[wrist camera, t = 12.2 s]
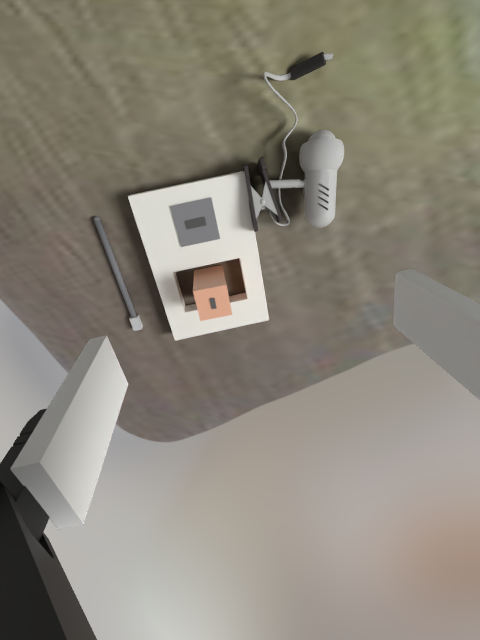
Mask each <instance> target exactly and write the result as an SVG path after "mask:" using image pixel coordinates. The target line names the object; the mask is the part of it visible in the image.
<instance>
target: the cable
mask: <svg viewBox="0 0 480 640" xmlns="http://www.w3.org/2000/svg"><path fill="white" fill-rule="evenodd" d="M93 220H94V223H95V225H96V228H97V230H98V233H99V236H100V238H101V241H102V243H103V246H104V248H105V251H106V254H107V256H108V259H109V261H110V264H111V267H112V269H113V272H114V274H115V277H116V279H117V282H118V285H119V287H120V290H121V292H122V295H123V297H124V300H125V303H126V305H127V308H128V310H129V313H130V315H131V316H130V319H129V320H130V322H131V325H132V327H133V330H134V331H136V330H141V329H142V328H143V325H142V322H141V320H140V317H139V315H136V312H135V310H134V307H133V304H132V302H131V299H130V296H129V294H128V291H127V288H126V286H125V283H124V281H123V278H122V275H121V273H120V270H119V267H118V265H117V262H116V259H115V257H114V254H113V251H112V249H111V246H110V244H109V241H108V238H107V236H106V233H105V230H104V228H103V225H102V222H101V220H100V218H99V217H97V216H96V217H94V219H93Z"/></svg>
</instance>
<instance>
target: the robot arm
mask: <svg viewBox="0 0 480 640" xmlns="http://www.w3.org/2000/svg"><path fill="white" fill-rule="evenodd" d="M393 326H394V327H395V328H397V329H398V330H399V331H400V332H401V333H402V334H404V335H405V336H406V337H407V338H408V339H409V340H411V341H412V342H413V343H414V344H415V345H416V346H418V347H419V348H420V349H421V350H422V351H423V352H424V353H426V354H427V355H428V356H429V357H430V358H431V359H433V360H434V361H435V362H436V363H437V364H438V365H440V366H441V367H442V368H443V369H444V370H446V371H447V372H448V373H449V374H450V375H451V376H452V377H454V378H455V379H456V380H457V381H458V382H459V383H461V384H462V385H463V386H464V387H465V388H466V389H468V390H469V391H470V392H471V393H472V394H473V395H475V396H476V397H477V398H478V399H479V400H480V304H479V303H477V302H475V301H473V300H471V299H470V298H468V297H466V296H464V295H462V294H460V293H458V292H456V291H454V290H452V289H450V288H448V287H446V286H444V285H442V284H440V283H439V282H437V281H435V280H433V279H431V278H429V277H427V276H425V275H423V274H421V273H419V272H417V271H415V270H413V269H410V270H405V271H400V272H396V275H395V298H394V320H393ZM127 386H128V383H127V380H126V378H125V376H124V373H123V371H122V369H121V367H120V364H119V362H118V360H117V358H116V355H115V353H114V351H113V349H112V346H111V344H110V342H109V340H108V337H107V335H106V336H102V337H97V338H93V339H89V341H88V343H87V344H86V346H85V347H84V349H83V351H82V352H81V354H80V356H79V357H78V359H77V361H76V362H75V364H74V365H73V367H72V369H71V370H70V372H69V374H68V375H67V377H66V378H65V380H64V382H63V383H62V385H61V387H60V389H59V390H58V392H57V393H56V395H55V397H54V398H53V400H52V401H51V403H50V405H49V406H48V408H47V409H43V410H40V411H39V412H38V413H37V414H36V415H34V416H33V417H32V418H31V419H30V420H29V421H28V422H27V424H26V425H25V427H24V428H23V430H22V431H21V433H20V436H18V437H17V439H16V440H15V442H14V444H13V447H11V448H10V450H9V451H8V453H7V454H6V456H5V457H4V459H3V460H2V462H1V463H0V640H97V639H96V637H95V635H94V633H93V631H92V628H91V626H90V624H89V622H88V620H87V618H86V616H85V614H84V612H83V610H82V608H81V606H80V604H79V601H78V599H77V598H76V595H75V593H74V591H73V589H72V587H71V585H70V583H69V581H68V579H67V576H66V574H65V572H64V570H63V568H62V566H61V564H60V562H59V560H58V558H57V556H56V554H55V552H54V549H53V547H52V545H51V543H50V541H49V539H48V538H47V536H46V535H45V534H44V533H43V531H44V529H45V527H46V524H47V522H48V519H50V520H51V522H52V523H53V524H54V526H55V527H56V528H57V529H58V530H61V529H65V528H69V527H74V526H78V525H82V524H84V521H85V518H86V515H87V512H88V509H89V506H90V503H91V499H92V496H93V493H94V490H95V487H96V484H97V480H98V477H99V474H100V471H101V468H102V465H103V462H104V458H105V455H106V452H107V449H108V446H109V443H110V440H111V436H112V433H113V430H114V427H115V424H116V421H117V418H118V415H119V411H120V408H121V405H122V402H123V399H124V396H125V393H126V389H127Z"/></svg>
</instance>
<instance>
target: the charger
mask: <svg viewBox="0 0 480 640" xmlns="http://www.w3.org/2000/svg"><path fill="white" fill-rule="evenodd" d="M193 293H194V297H195V301H196V305H197V309H198V313H199V317H200V321H203V320H208V319H213V318H219V317H224V316H229V315H232V310H231V305H230V300H229V295H228V290H227V285H226V280H225V276H224V271H223V266H222V265H219V266H213V267H208V268H203V269H198V270H194V281H193Z"/></svg>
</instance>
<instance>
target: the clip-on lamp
mask: <svg viewBox="0 0 480 640" xmlns="http://www.w3.org/2000/svg"><path fill="white" fill-rule="evenodd" d="M332 57H333V54H324V53H323V52H321V53H319V54H317V55H315V56H313V57H311V58H310V59H308V60H306V61H304V62H302V63H300V64H298V65H296V66H294V67H292V68H290V73H288V74H285V75H281V76H280V75H274V74H271V73H268V72H264V74H263V77H264V80H265V81H266V83H267V85H268V86H269V87H270V88H271V90H272V91H273V92H274V93H275V94H276V95H277V96H278V97H279V98H280V99H281V100H283V101H284V102H285V103H286V104H287V105H288V106H289V108H290V109H291V110H292V111H293V113H294V114H295V119H296V120H295V124H294V126H293V127H292V129H291V130H290V131H289V133H288V134H287V135H286V137H285V138H284V140H283V143H282V147H283V151H284V160H283V164H282V167H281V171H280V175H279V180H269V178H268V175H267V172H266V166H265V162H264V159H263V157H262V158H259V161H258V165H257V167H258V170H259V174H260V176H261V177H262V180H263V183H264V187H263V192H262V196H261V197H260V196H259V195H258V193H257V192H256V191H255V190H254V189H253V188H252V186H251V184H250V178H249V171H248V166H247V165H244V168H243V171H244V173H245V178H246V184H247V190H248V197H249V207H250V213H251V219H252V224H253V229H254V232H255V231H258V227H257V221H256V219H257V217H258V215H259V213H260V210H264V209H266V210H267V211H268V212H270V215H271V218H272V220H273V221H274V222H275V223H276V224H277V225H280V226H286V225H288V224H289V223H290V219H289V217H288V215H287V213H286V211H285V210H284V208H283V206H282V203H281V198H280V188H303V195H305V219H306V221H307V223H308V224H310V225H311V226H313V227H316V228H321V227H325V226H327V225H328V224H329V223H331V221H332V220H333V219H334V216H335V201H336V181H337V170H338V168H339V167H340V165H341V163H342V161H343V157H344V146H343V143H342V141H341V140H339V139H336V138H335V136H334V135H333V134H332V133H331V132H330V131H328V130H319V131H317V132H315V133H314V134H313V135H312V136H311V137H310V138H309V140H308V142H305V143H304V144H302V146H301V148H300V153H299V162H300V166H301V168H302V170H303V171H304V173H305V179H304V180H303V181H300V179H291V180H281V178H282V174H283V170H284V166H285V163H286V158H287V151H286V147H285V140H286V139H287V137H288V136H289V135H290V133H291V132H292V131H293V129H294V128H295V126H296V124H297V120H298V119H297V114H296V112H295V111H294V109H293V108H292V107H291V105H290V104H289V103H288V102H287V101H286V100H285V99H284V98H283V97H282V96H281V95H280V94H279V93H278V92H277V91H276V90H275V89H274V88H273V87H272V85H271V84H270V83H269V81H268V80H267V78H266V76H267V77H269V78H272V79H274V80H277V81H284V80H288V79H290V78H292V80H295V79H297V78H300V77H302V76H304V75H306V74H308V73H310V72H312V71H314V70H316V69H318V68H320V67H322V66H324V65H325V64H326V60H332ZM272 188H278V202H279V206H280V208H281V210H282V212H283V213H284V215H285V216H286V218H287V222H286V223H284V224H280V223H277V222H281V221H283V219H282V215H281V212H280V209H279V206H278V204H277V201H276V198H275V195H274V192H273V189H272ZM273 215H274V216H275V217H276V219H277V222H276V220H275V219H274V217H273Z"/></svg>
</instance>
